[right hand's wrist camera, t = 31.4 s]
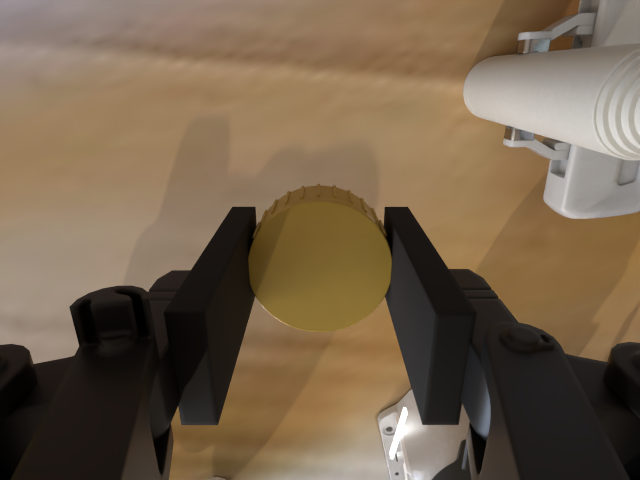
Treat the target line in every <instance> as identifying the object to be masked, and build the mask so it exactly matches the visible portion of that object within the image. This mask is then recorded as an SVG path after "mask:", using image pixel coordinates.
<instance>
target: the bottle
mask: <svg viewBox="0 0 640 480" xmlns="http://www.w3.org/2000/svg"><path fill="white" fill-rule="evenodd" d="M463 96H464V101H465V104H466V106H467V108H468V109H469V110H470V112H472V113H473V114H474V115H476V116H477V117H480V118H483V119H486V120H490V121H493V122H497V123H500V124H504V125H507V126H511V127H514V128H517V129H521V130H524V131H528V132H531V133H535V134H538V135H542V136H545V137H549V138H552V139H555V140H559V141H562V142H566V143H569V144H573V145H576V146H580V147H583V148H586V149H590V150H593V151H597V152H600V153H604V154H607V155H611V156H614V157H618V158H621V159H625V160H640V43H636V44H625V45H613V46H602V47H591V48H580V49H569V50H557V51H546V52H535V53H527V54H512V55H501V56H492V57H488V58H486V59H484V60H482V61H480V62H479V63H478V64H476V65H475V66H474V67H473V68H472V70H471V71H470V72H469V74H468V76H467V78H466V80H465V83H464V88H463Z"/></svg>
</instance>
